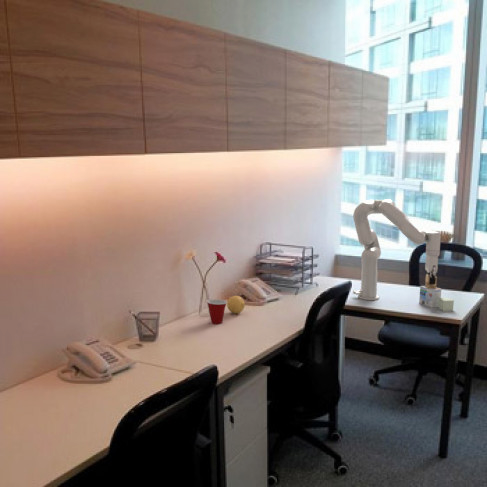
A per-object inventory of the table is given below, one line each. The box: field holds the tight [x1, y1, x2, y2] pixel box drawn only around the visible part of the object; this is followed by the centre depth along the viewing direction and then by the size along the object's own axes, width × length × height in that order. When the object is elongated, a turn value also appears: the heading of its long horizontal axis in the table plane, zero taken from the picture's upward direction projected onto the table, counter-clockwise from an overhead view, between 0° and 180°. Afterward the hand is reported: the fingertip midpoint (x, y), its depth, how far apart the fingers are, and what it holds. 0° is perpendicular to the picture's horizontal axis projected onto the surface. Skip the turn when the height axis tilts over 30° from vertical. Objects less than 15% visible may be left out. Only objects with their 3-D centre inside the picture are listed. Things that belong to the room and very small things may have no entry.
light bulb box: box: [418, 285, 442, 309], centre depth 305 cm, size 11×7×11 cm, turn 25°
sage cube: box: [437, 297, 455, 312], centre depth 297 cm, size 6×6×6 cm
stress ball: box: [226, 295, 246, 315], centre depth 290 cm, size 10×10×10 cm
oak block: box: [424, 274, 438, 288], centre depth 303 cm, size 5×5×7 cm
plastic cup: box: [206, 298, 228, 325], centre depth 274 cm, size 11×11×12 cm
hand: (430, 282), depth 303 cm, fingers open, 6 cm apart
